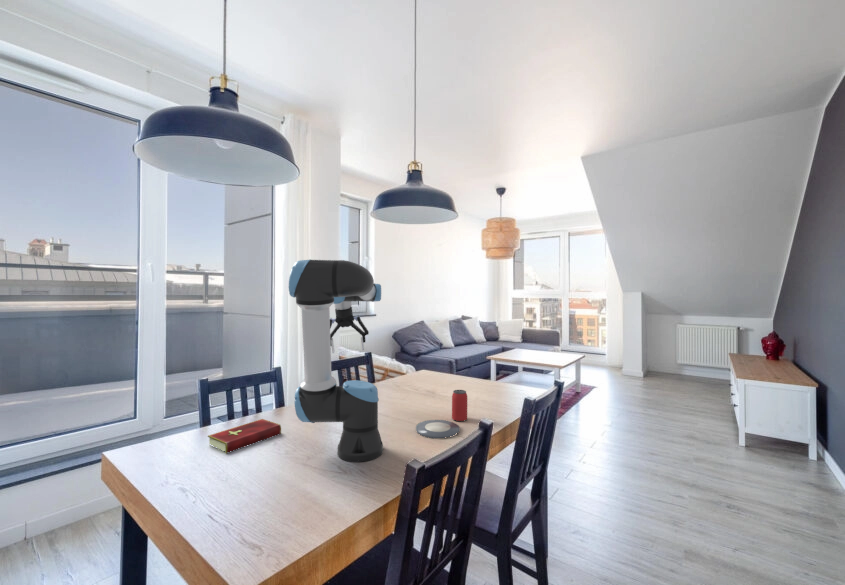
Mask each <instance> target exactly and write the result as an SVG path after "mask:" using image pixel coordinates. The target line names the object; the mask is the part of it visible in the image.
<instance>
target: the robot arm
mask: <svg viewBox="0 0 845 585" xmlns="http://www.w3.org/2000/svg"><path fill="white" fill-rule="evenodd" d="M288 292H289V296H290V297H292V298H295V303H296V305H297V306H298V307H300V309H301V323H302V325H301V328H302V346H303V350H302V351H303V368H304V370H303V371H304V378H303V380H302V381H301V382H300V384H299V386H298V387H297V388H296V390H295V392H294V410H295V415H296V416H297V419H298V420H299V421H301V422H302V423H311V424H315V423H342V433H341V435H340V438H339V439H340V440H339V442H338V444H337V448H336V450H337V452H336V454H337V457H338V458H339V459H341V460H343V461H347V462H351V463H352V462H353V463H361V462H368V461H372V460H375V459H377V458H378V457H380V456H381V455H382V454H383V452H384V448H383V447H384V443H383V441H382V437H381V434H380V432H379V414H378V413H379V412H378V410H379V400H380V399H379V394H378V393H379V390H378V387H377V386H376V385H375V384H374V383H372V382H369V381H364V380H357V379H356V380H355V379H354V380H347V381H346V380H345V381H344V382H343V384H342V385H337V379H336V378H335V377H333V376H332V374H333V373H332V354H335V345H334V338H333V337H334V336H335V334H336V333H337V331H338V330H339V329H340V328H342V329H343V328H350V327H351V328H353V330H355V331H356V332H357V333H358V334H359V335H360V340H361V341H360V343H361V350H362V351H363V350H364V348H365V345H364V343H366V336H367V335H369V333H370V332H369V330H368V328H367V327H366V326H365V324H364V322H363V321H362V319H361V317H360V315H359V314H358V315H357V316H354V315H353V314H354V312H353V306H352V305H353V304H352V302H371V303H375V302H380V301H381V300H382V285H381V284H380V283H375V282H374V278H373V275H372V273H371V272H370V271H369V270H368V269H367V268H366V267H365V266H362V265H360V264H358V263H357V262H353V261H351V260H346V259H345V260H344V259H341V260H340V259H339V260H336V259H333V260H331V259H300V260H297V261H296V262H294V263H293V265H292V267H291V270H290V273H289V278H288ZM332 305H334V308H335V309H334V311H335V318H333V317H331V315H330V314H331V313H330V310H331V309H330V307H331V306H332ZM354 321H356V322H357V323H358V324H359V326H360V327H361V328H360V327H359V326H357V324H355V322H354ZM334 323H336V326H335V327H334V328H333V330H332V331H331V328H332V325H333V324H334Z"/></svg>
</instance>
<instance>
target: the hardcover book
mask: <svg viewBox="0 0 845 585" xmlns="http://www.w3.org/2000/svg"><path fill="white" fill-rule="evenodd" d="M278 434H279V435H281V434H282V425H281V424H280V423H277V422H274V421H271V420H267V419H265V418H260V419H257V420H254V421H250V422H247V423H244V424H241V425H238V426H235V427H231V428H228V429H224V430H221V431H218V432H216V433H213V434H208V435H207V438H208V440H209V442H208V443H209V444H211V445H213V446H214V447H217V448H219V449H221V450H223V451H225V452H224V454H225V453H226V454H228V453H227V452H229V453H231V452H230V451H232V452H234V451H233V450H235V451H237V450H239V449H238V448H240V449H242V448H241V447H243V448H245V447H244V446H246V447H248V446H247V445H249V446H251V445H254V444H257V443H259V442H258V441H260V442H262V441H265V440H267V438H268V439H270V437H271V438H273V437H272V436H274V437H276V436H279V435H278ZM275 435H276V436H275ZM264 439H265V440H264ZM261 440H262V441H261ZM256 442H257V443H256ZM253 443H254V444H253ZM209 444H208V445H209ZM250 444H251V445H250ZM214 447H213V448H214ZM219 449H218V450H219ZM236 449H237V450H236ZM221 450H220V451H221ZM223 451H222V452H223Z"/></svg>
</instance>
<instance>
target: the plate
mask: <svg viewBox="0 0 845 585" xmlns="http://www.w3.org/2000/svg"><path fill="white" fill-rule="evenodd" d="M416 431H417V432H416ZM415 432H416V433H417V434H418V435H419V434H420V435H419V436H421V435H422V436H421V437H424V436H425V437H424V438H428V437H429V438H428V439H434V438H444V439H446V438H445V437H450V436H453V435H455V434H456V433H458V432H459V433H460V425H458V424H457V423H456V422H453V421H450V420H447V419H445V420H444V419H427V420H424V421H420V422H419V423H418V424H416V426H415ZM459 433H458V434H459ZM453 437H454V436H453ZM450 438H451V437H450Z"/></svg>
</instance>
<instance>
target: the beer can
mask: <svg viewBox="0 0 845 585" xmlns="http://www.w3.org/2000/svg"><path fill="white" fill-rule="evenodd" d="M451 419H452V420H453V421H454V420H456V421H455V422H458V421H462V422H465V421H464V420H466V421H467V420H468V394H467V390H464V389H455V390H453V391H452V396H451Z"/></svg>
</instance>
